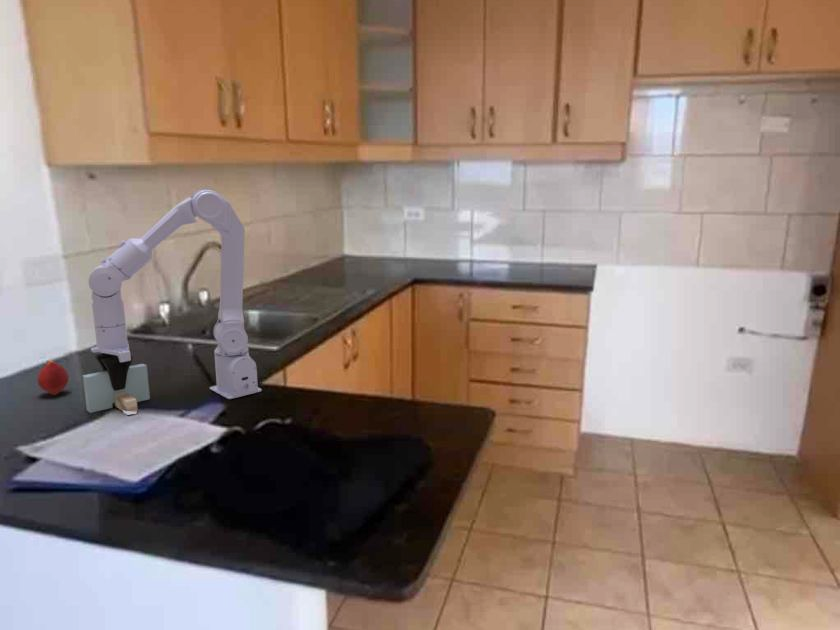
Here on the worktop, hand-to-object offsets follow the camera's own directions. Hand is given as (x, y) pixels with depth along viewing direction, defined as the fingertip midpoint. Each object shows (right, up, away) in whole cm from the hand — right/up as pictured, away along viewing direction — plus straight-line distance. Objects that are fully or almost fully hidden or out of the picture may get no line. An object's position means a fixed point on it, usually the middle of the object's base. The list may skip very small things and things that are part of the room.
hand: (117, 387), depth 133 cm
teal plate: (0, -4, +1) cm, 4 cm away
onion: (-17, -2, +7) cm, 18 cm away
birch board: (0, -4, +1) cm, 4 cm away
